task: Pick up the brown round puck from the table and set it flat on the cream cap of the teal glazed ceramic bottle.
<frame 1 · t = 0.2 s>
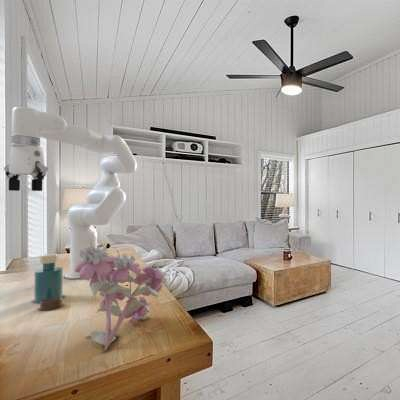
hand: (25, 190, 105), 37 cm above the table, tool pointing down, fingers open, 9 cm apart
brown round puck: (51, 307, 91), on the table
bottle: (48, 299, 99), on the table
flower: (123, 329, 77), on the table
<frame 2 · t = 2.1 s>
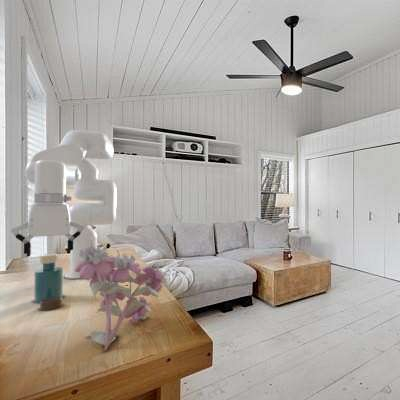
hand: (49, 254, 92), 17 cm above the table, tool pointing down, fingers open, 9 cm apart
nothing on the table moved.
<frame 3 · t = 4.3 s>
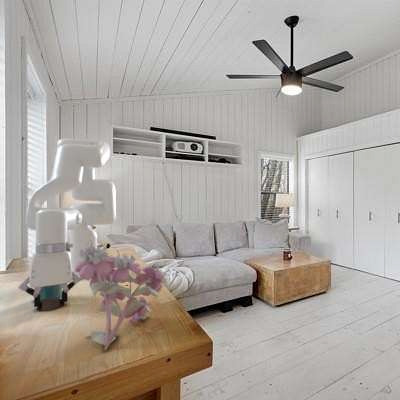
hand: (51, 305, 91), 0 cm above the table, tool pointing down, fingers closed on brown round puck, 5 cm apart
brown round puck: (51, 307, 91), on the table, touching gripper
everything else where it was.
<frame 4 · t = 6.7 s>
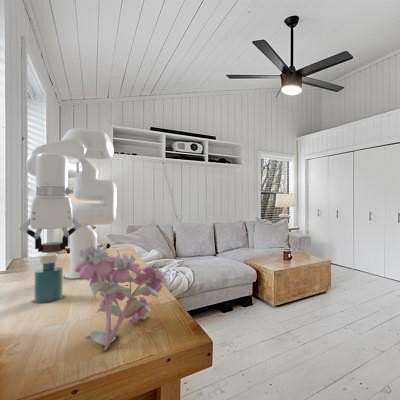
hand: (52, 249, 92), 18 cm above the table, tool pointing down, fingers closed on brown round puck, 5 cm apart
brown round puck: (52, 251, 92), point 17 cm above the table, touching gripper
everything else where it was.
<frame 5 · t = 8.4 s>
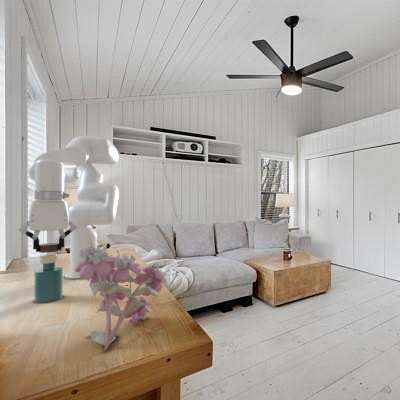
hand: (49, 250, 99), 17 cm above the table, tool pointing down, fingers closed on brown round puck, 5 cm apart
brown round puck: (49, 251, 98), point 16 cm above the table, touching gripper
everything else where it was.
when the fingers open (15 cm above the table, at t = 9.2 s): brown round puck stays where it is, resting on bottle.
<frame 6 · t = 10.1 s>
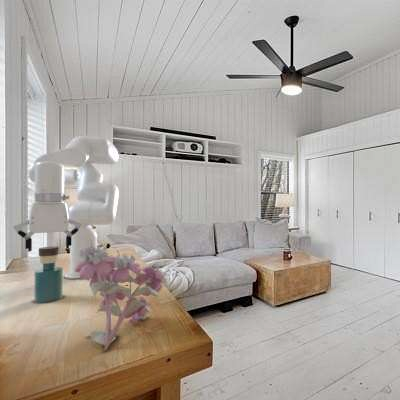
hand: (49, 249, 99), 17 cm above the table, tool pointing down, fingers open, 9 cm apart
brown round puck: (49, 254, 98), point 15 cm above the table, touching bottle
bottle: (48, 299, 99), on the table, touching brown round puck
everything else where it was.
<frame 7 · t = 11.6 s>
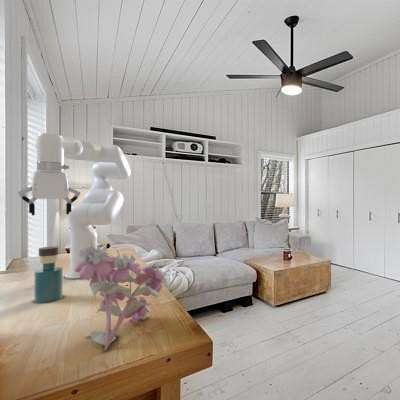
hand: (50, 214, 107), 28 cm above the table, tool pointing down, fingers open, 9 cm apart
nothing on the table moved.
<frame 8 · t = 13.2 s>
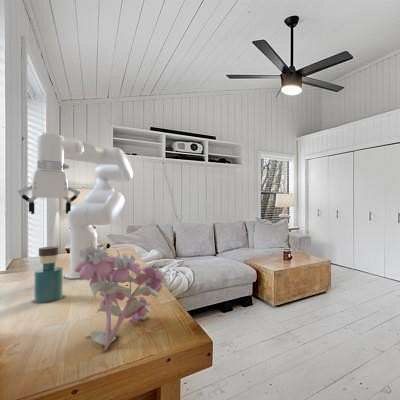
hand: (50, 213, 108), 28 cm above the table, tool pointing down, fingers open, 9 cm apart
nothing on the table moved.
at the end: brown round puck 0.1 cm off-centre on the bottle, point 15.0 cm above the bottle's base; brown round puck tilted 0°; bottle tilted 0° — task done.
